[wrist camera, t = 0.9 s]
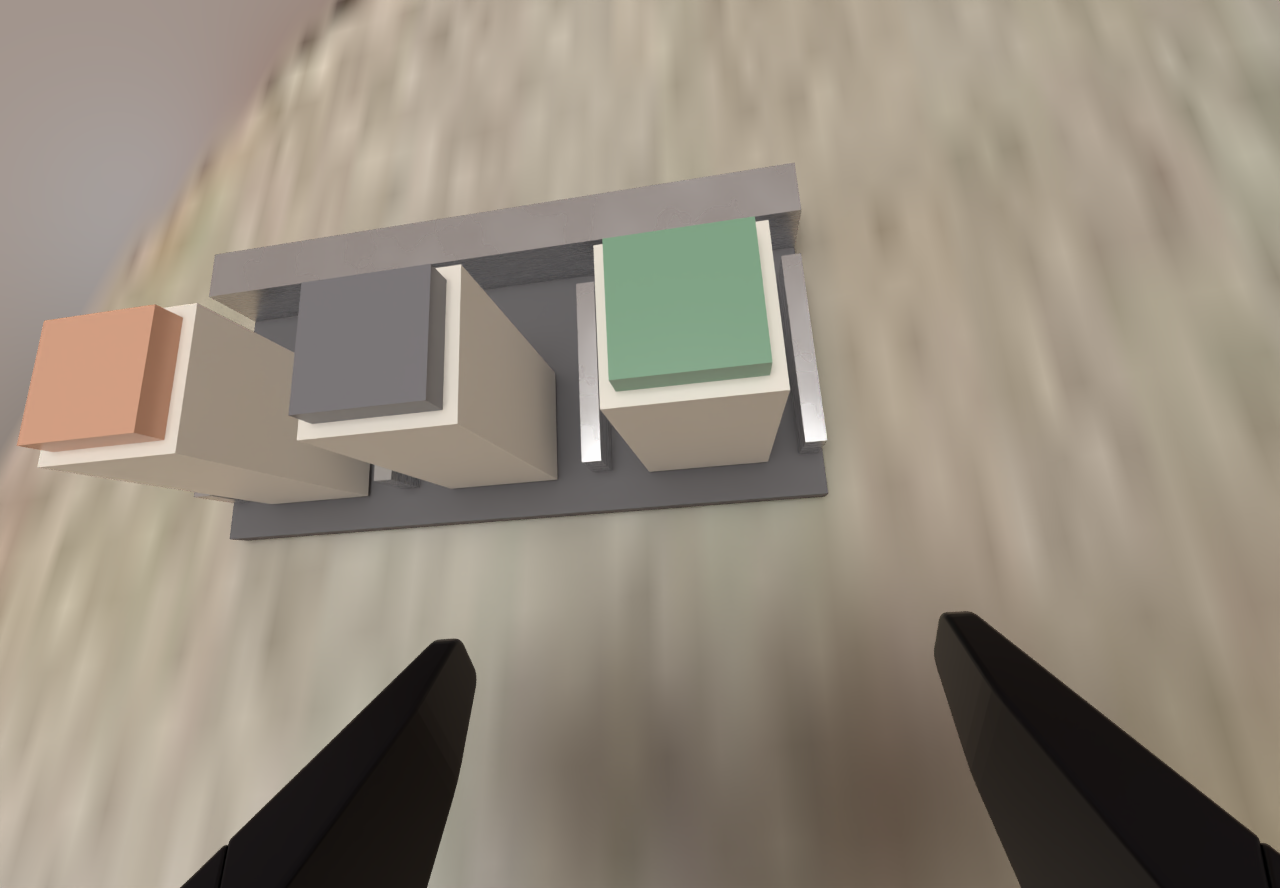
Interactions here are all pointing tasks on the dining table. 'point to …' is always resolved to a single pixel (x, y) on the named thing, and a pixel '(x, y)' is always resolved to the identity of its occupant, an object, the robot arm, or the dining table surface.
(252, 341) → the key
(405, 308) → the key
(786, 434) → the key mat
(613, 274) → the key
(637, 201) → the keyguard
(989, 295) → the dining table surface
